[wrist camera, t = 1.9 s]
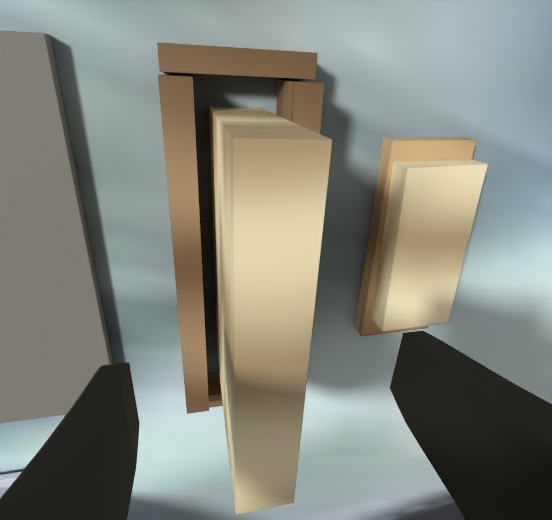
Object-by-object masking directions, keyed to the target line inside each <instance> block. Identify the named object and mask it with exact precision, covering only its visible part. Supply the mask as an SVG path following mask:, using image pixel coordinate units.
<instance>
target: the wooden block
mask: <svg viewBox="0 0 552 520" xmlns="http://www.w3.org/2000/svg"><path fill="white" fill-rule="evenodd" d="M209 120H210V151H211V181H212V212H213V242H214V273H215V303H216V334H217V358H218V367H219V376H220V384H221V393H222V401H223V410H224V418H225V427H226V435H227V444H228V453H229V461H230V470H231V478H232V487H233V495H234V504H235V513H236V514H240V513H245V512H250V511H255V510H260V509H265V508H270V507H275V506H280V505H285V504H290V503H294V496H295V487H296V477H297V468H298V458H299V449H300V439H301V430H302V421H303V411H304V402H305V392H306V383H307V373H308V364H309V355H310V345H311V336H312V326H313V317H314V307H315V298H316V289H317V279H318V270H319V260H320V251H321V241H322V232H323V223H324V213H325V204H326V194H327V185H328V175H329V166H330V157H331V147H332V139H329V138H327V137H325V136H323V135H320V134H318V133H316V132H314V131H311V130H309V129H307V128H305V127H302V126H300V125H298V124H296V123H293V122H291V121H289V120H287V119H284V118H282V117H280V116H277V115H275V114H273V113H271V112H268V111H266V110H264V109H262V108H235V107H209Z"/></svg>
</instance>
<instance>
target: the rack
mask: <svg viewBox="0 0 552 520" xmlns="http://www.w3.org/2000/svg"><path fill="white" fill-rule="evenodd" d="M157 45H158V57H159V69H160V72H176V73H196V74H216V75H237V76H257V77H277V78H297V79H315V78H316V66H317V54H318V53H309V52H294V51H279V50H263V49H248V48H233V47H217V46H202V45H187V44H172V43H157ZM158 80H159V91H160V103H161V115H162V126H163V138H164V150H165V161H166V173H167V185H168V196H169V208H170V220H171V231H172V243H173V255H174V266H175V278H176V290H177V301H178V313H179V324H180V336H181V348H182V359H183V371H184V383H185V394H186V406H187V414H188V413H195V412H202V411H209V408H210V407H217V406H223V401H222V393H221V384H220V376H219V373H213V374H207V358H206V337H205V317H204V296H203V276H202V256H201V235H200V215H199V195H198V174H197V154H196V134H195V113H194V93H193V77H192V76H173V75H158ZM324 85H325V83H315V82H299V81H278V87H277V112H276V115H277V116H280V117H282V118H284V119H287V120H289V121H291V122H293V123H296V124H298V125H300V126H302V127H305V128H307V129H309V130H311V131H314V132H316V133H318V134H320V128H321V117H322V106H323V95H324Z"/></svg>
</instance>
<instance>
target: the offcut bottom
mask: <svg viewBox="0 0 552 520" xmlns="http://www.w3.org/2000/svg"><path fill="white" fill-rule="evenodd" d="M475 144H476V140H473V139H468V138H384V139H383V146H382V152H381V159H380V165H379V172H378V178H377V185H376V192H375V198H374V205H373V211H372V218H371V224H370V231H369V237H368V244H367V251H366V257H365V264H364V270H363V277H362V283H361V290H360V297H359V303H358V310H357V316H356V323H355V328H356V329H357V331H358V332H359V334H360V335H361V336H367V335H375V334H383V333H391V332H399V331H408V330H416V329H424V328H428V327H429V325H427V326H420V327H413V328H405V329H398V330H391V331H383V332H382V330H381V329H380V328H379V326H378V325H377V324H376V322H375V321H374V320H373V318H372V314H373V307H374V300H375V292H376V285H377V278H378V270H379V263H380V256H381V249H382V241H383V234H384V227H385V219H386V212H387V205H388V197H389V190H390V183H391V175H392V168H393V162H406V161H426V160H446V159H467V158H469V159H472V156H473V152H474V148H475Z"/></svg>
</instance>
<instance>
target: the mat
mask: <svg viewBox="0 0 552 520" xmlns="http://www.w3.org/2000/svg"><path fill="white" fill-rule="evenodd" d="M110 364H113V360H112V354H111V349H110V344H109V339H108V334H107V328H106V323H105V318H104V313H103V308H102V302H101V297H100V292H99V287H98V282H97V276H96V271H95V266H94V261H93V256H92V250H91V245H90V240H89V235H88V230H87V224H86V219H85V214H84V209H83V204H82V198H81V193H80V188H79V183H78V178H77V172H76V167H75V162H74V157H73V152H72V146H71V141H70V136H69V131H68V126H67V120H66V115H65V110H64V105H63V100H62V94H61V89H60V84H59V79H58V73H57V68H56V63H55V58H54V53H53V47H52V42H51V37H50V35H48V34H44V33H30V32H15V31H0V423H5V422H12V421H20V420H27V419H35V418H42V417H50V416H57V415H65V414H67V413H68V412H69V410H70V409H71V407H72V406H73V405H74V403H75V402H76V400H77V399H78V397H79V396H80V395H81V393H82V392H83V390H84V389H85V387H86V386H87V384H88V383H89V381H90V380H91V378H92V377H93V375H94V374H95V372H96V371H97V370H98V369H99V368H100V367H101V366H102V365H110Z"/></svg>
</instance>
